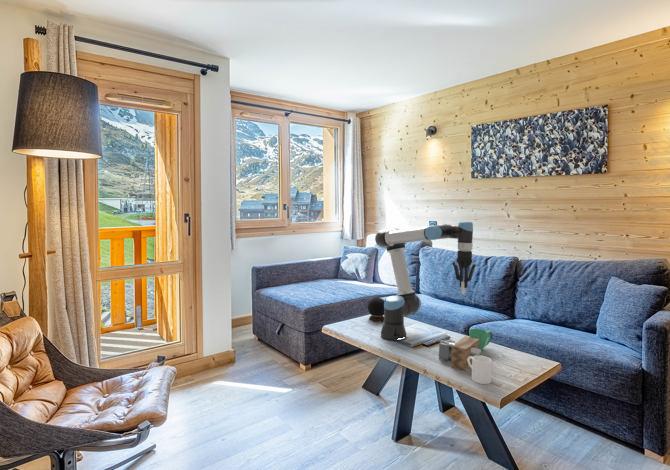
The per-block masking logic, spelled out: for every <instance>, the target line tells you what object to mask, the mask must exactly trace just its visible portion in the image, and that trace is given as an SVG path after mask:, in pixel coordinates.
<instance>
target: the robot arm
mask: <svg viewBox="0 0 670 470" xmlns="http://www.w3.org/2000/svg"><path fill="white" fill-rule="evenodd" d="M473 232H474V225H473V222H472V221H458V224H447V223H442V224H441V223H440V224H433V225H428V226H422V227H415V228H414V227H413V228H407V229H406V228H405V229H400V228H389V229H388V228H386V229H380V230H379V231H378V232H377V233H376V234H375V235H374V236H375V237H374V238H375V239H374V241H375V243H376V245H377V246H378V247H379V248H381V249H386V251H387V253H388V254H389V256H390V259H391V265H392V270H393V274H394V275H393V276H394V280H395V284H396V289H397V293H396V295H391V296H390V295H389V296H387V297H386V298H385V299H384V301H385V302H384V315H383V316H384V321H383V325H382V328H381V330H380V337H381V338H382V339H384V340H388V341H393V342H395V341H397V339H398V338H403V337H406V338H407V331H406V327H405V322H404V321H405V317H408V316H411V315H415V314H416V313H418V312H419V311H420V310H421V308H422V300H421V298H420V297H419V296H418V295H417V294H416V291H415V290H414V289H413V288H412V284H411V279H410V275H409V269H408V265H407V261H406V256H405V250H406V244H407V243H415V242H425V241H435V240H443V239H456V240H457V253H456V254H457V255H456V256H457V258H456V259H455V261H453V262H452V263H451V264H452V266H453V268H454V273H455V279H456V281H459V288H460V289H461V290H460V294H462V295H465V294H466V290H467V288H468V287H469V286H468V283H469V282H471V281H472V279H473V275H474V272H475V269H476V267H477V263H475V262H474V261H473V238H474V237H473V235H474V234H473ZM469 268H470V270H469Z"/></svg>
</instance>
